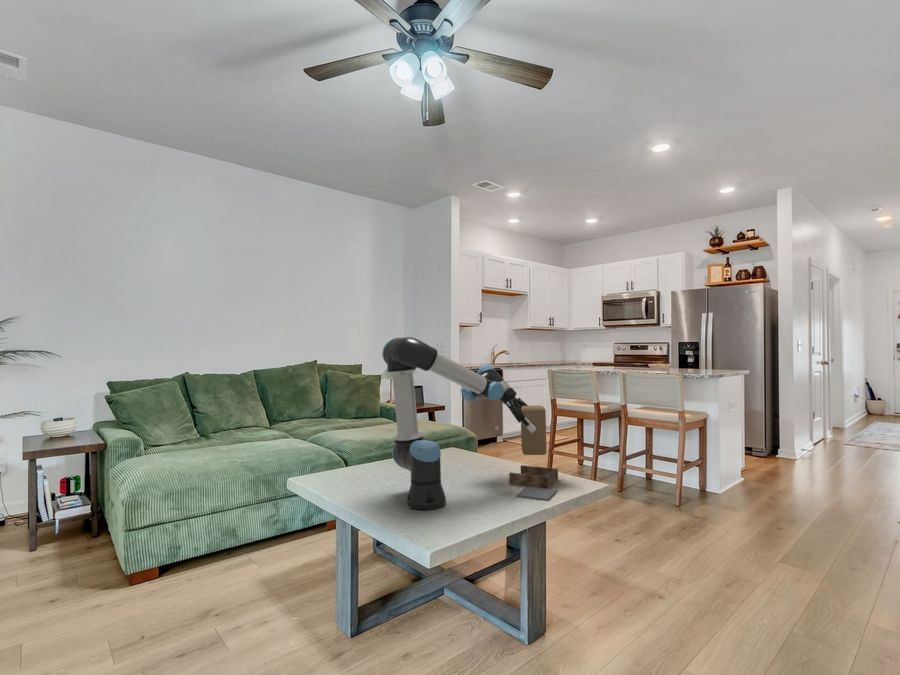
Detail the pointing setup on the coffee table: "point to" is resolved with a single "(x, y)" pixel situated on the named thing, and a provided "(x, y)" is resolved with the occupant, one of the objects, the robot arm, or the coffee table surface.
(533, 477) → the wooden u-shaped frame
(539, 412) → the wooden block
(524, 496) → the pad
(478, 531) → the coffee table surface
